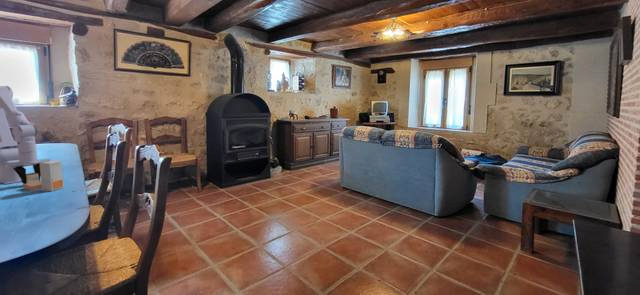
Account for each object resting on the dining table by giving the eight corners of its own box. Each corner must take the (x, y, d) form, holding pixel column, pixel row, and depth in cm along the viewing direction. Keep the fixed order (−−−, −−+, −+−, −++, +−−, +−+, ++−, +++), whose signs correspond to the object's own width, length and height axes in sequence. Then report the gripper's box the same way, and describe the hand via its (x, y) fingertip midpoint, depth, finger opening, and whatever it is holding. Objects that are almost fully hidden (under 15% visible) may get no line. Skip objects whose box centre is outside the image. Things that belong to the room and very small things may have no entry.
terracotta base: (23, 188, 128) (22, 184, 128) (43, 184, 134) (43, 180, 134) (31, 191, 125) (31, 186, 125) (52, 186, 131) (51, 182, 131)
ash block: (23, 185, 133) (22, 174, 132) (35, 183, 137) (33, 172, 136) (28, 186, 131) (26, 175, 131) (39, 184, 135) (38, 173, 134)
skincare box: (51, 191, 125) (48, 163, 123) (41, 191, 125) (38, 163, 124) (64, 187, 131) (61, 160, 130) (55, 187, 131) (52, 160, 130)
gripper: (9, 155, 124) (13, 186, 126) (52, 150, 137) (55, 179, 139) (1, 153, 127) (5, 184, 129) (44, 149, 140) (47, 177, 142)
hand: (31, 181), depth 134 cm, fingers closed on ash block, 4 cm apart
